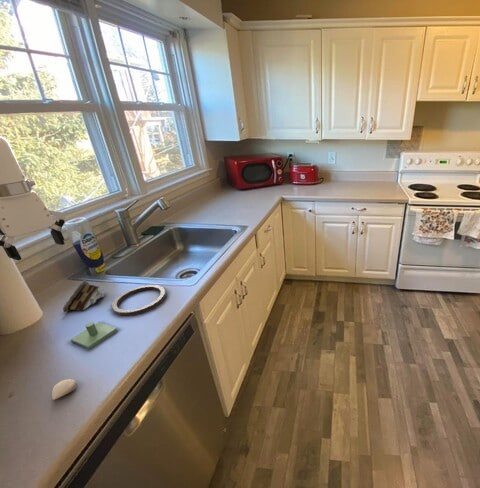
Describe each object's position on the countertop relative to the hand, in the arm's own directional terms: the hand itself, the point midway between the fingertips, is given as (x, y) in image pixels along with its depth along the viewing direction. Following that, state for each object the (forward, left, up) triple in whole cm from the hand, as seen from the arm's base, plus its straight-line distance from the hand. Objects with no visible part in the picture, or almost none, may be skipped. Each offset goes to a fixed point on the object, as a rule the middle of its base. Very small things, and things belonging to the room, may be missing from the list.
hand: (39, 251), depth 76 cm
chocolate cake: (-9, +9, -26) cm, 29 cm away
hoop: (+7, +16, -26) cm, 32 cm away
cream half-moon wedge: (+23, -16, -26) cm, 39 cm away
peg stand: (+10, -1, -26) cm, 28 cm away
